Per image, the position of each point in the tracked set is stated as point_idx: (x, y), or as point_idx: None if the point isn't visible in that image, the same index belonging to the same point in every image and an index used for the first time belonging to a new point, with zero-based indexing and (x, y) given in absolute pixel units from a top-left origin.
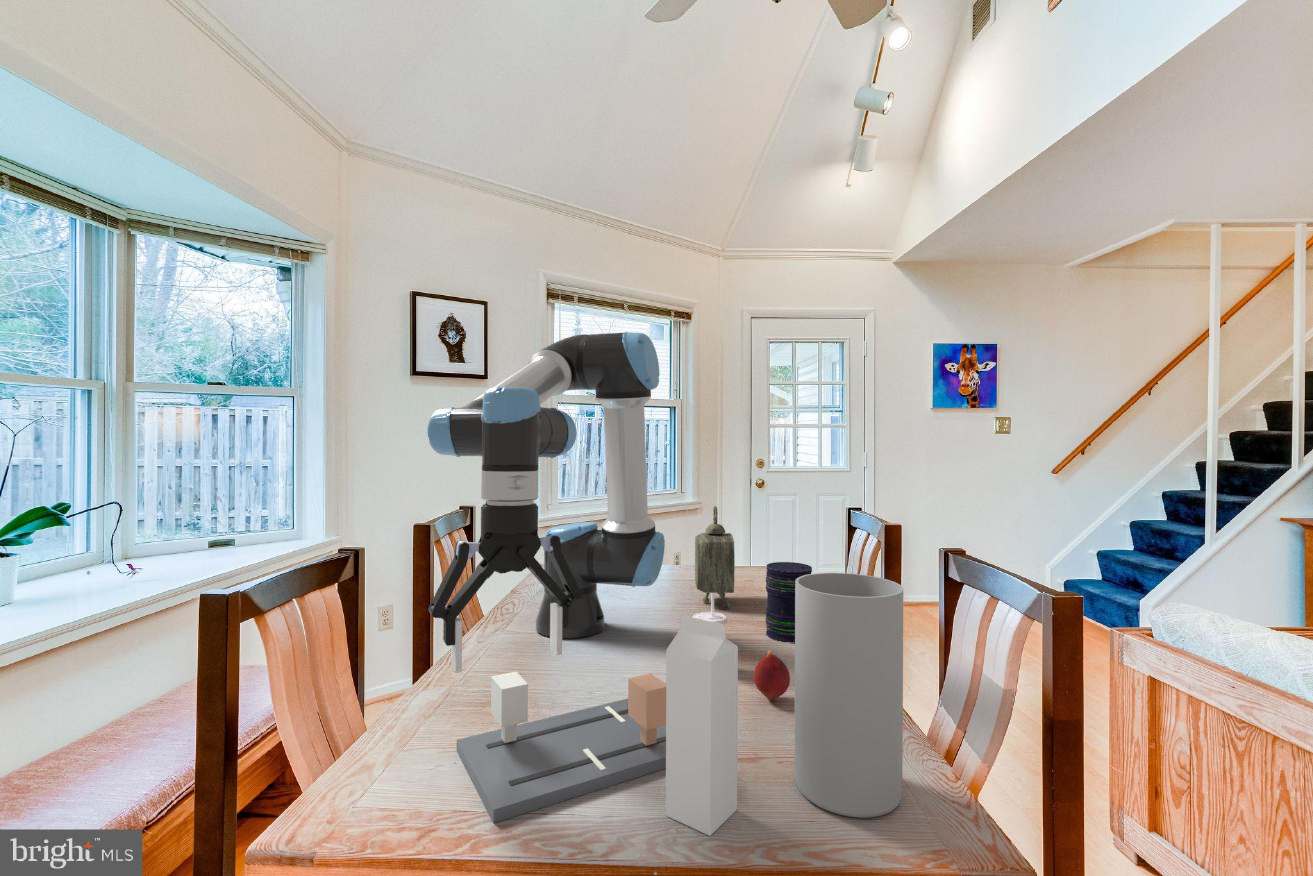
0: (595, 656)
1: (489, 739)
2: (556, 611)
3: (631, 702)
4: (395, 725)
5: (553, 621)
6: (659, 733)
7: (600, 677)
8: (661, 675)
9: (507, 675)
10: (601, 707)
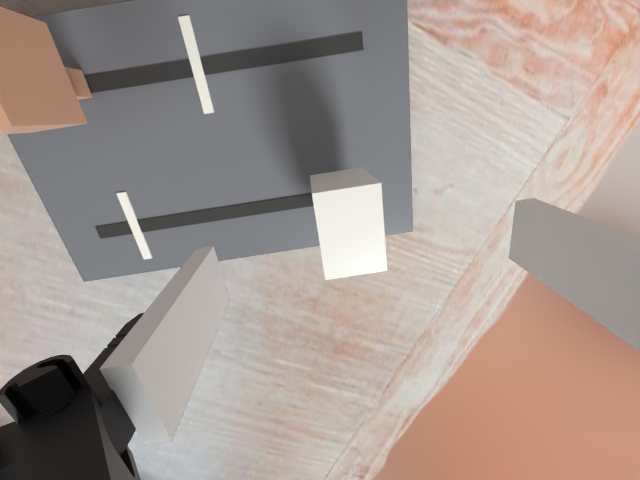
0: (151, 447)
1: None
2: (148, 355)
3: (53, 106)
4: (469, 324)
5: (187, 342)
6: None
7: None
8: None
9: (349, 263)
10: (158, 261)
